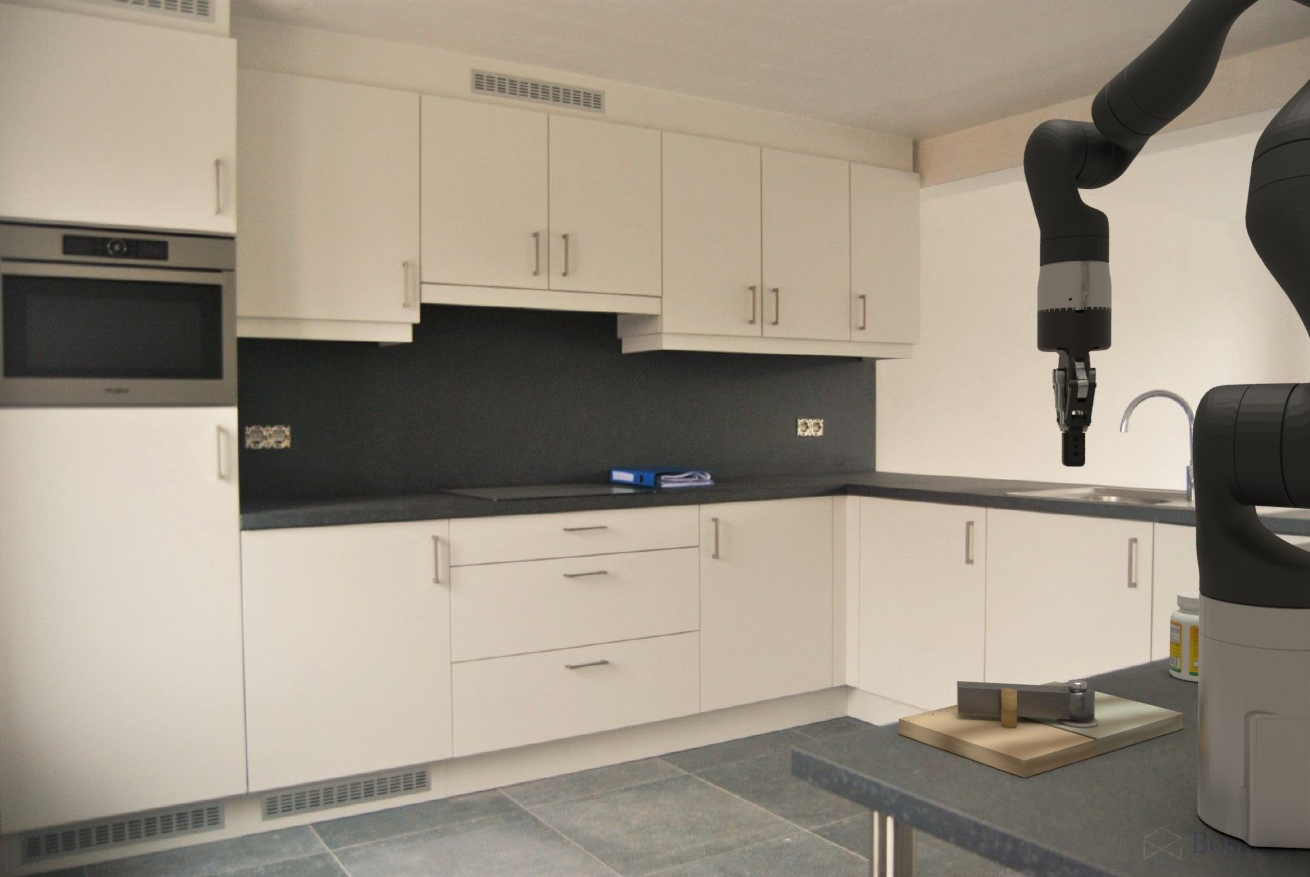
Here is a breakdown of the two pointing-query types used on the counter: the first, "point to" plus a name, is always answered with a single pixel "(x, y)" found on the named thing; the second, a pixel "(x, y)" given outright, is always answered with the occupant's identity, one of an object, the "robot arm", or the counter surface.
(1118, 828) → the counter surface
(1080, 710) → the lock bar
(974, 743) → the lock plate
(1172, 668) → the supplement bottle
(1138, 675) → the counter surface
